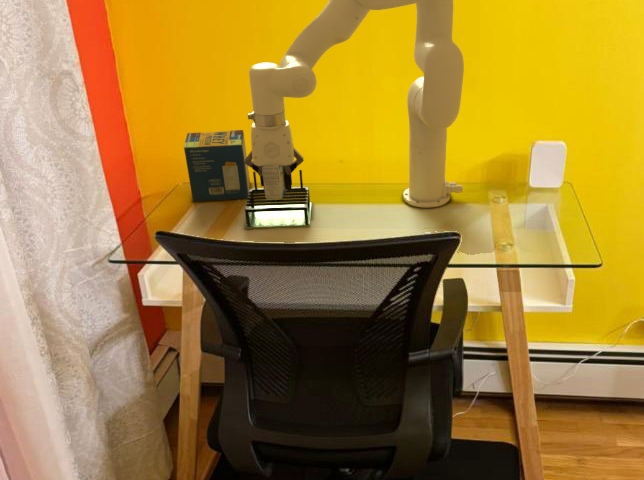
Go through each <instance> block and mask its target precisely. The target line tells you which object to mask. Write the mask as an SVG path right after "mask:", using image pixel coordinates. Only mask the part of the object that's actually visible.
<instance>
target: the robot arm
mask: <svg viewBox="0 0 644 480" xmlns="http://www.w3.org/2000/svg"><path fill="white" fill-rule="evenodd" d="M410 5H415V6H416V26H415V40H414V50H413V59H414V62H415V65H416V66H417V67H418V69H419V70H420V71H421V72H422V73H423V76H420V77H418V78H416V79H415V80H414V81H413V82H412V83H411V85H410V87H409V89H408V92H407V99H406V103H407V114H408V128H409V129H408V131H409V134H408V135H409V137H408V139H409V140H408V141H409V143H408V188H406V189H405V190H404V191H403V193H402V199H403V201H404V202H405V203H406V204H407V205H409V206H412V207H415V208H416V207H417V208H423V209H424V208H426V209H429V208H437V207H438V208H439V207H441V206H443V205H445V204H447V203H448V202H449V201H450V200H451V193H455V194H456V193H459V194H460V193H463V185H462V184H457V182H454V181H453V182H448V181H447V180H446V164H447V163H446V162H447V161H446V160H447V143H448V142H447V141H448V140H447V139H448V131H447V130H448V128H449V127H451V126H452V125H453V124H454V122H455V121H456V119H457V118H458V116H459V115H458V114H459V113H460V108H461V101H462V92H463V82H464V73H465V72H464V71H465V61H464V56H463V53H462V50H461V49H460V48H459V46H458V45H457V44H456V43H455V42H454V41H453V25H454V0H328V2H327V3H326V5H325V6H324V8H323V9H322V10H321V11H320V13H319V14H318V15H317V16H316V17H315V18H314V19H312V21H311V22H310V23H309V24H308V25H307V26H306V27H305V28H304V29H303V30H301V32H300V33H298V35H297V36H296V37H295V39H294V40H293V42H292V43H291V45H290V46H289V48H288V49H287V51H286V52H285V54H284V55H283V57H282V59H281V60H280V63H279V65H278V64H277V63H274V62H259V63H256V64H253V65H252V66H251V67H250V69H249V70H248V76H249V86H250V94H251V103H252V104H251V105H252V112H251V113H247V120H251V121H252V122H253V123H252V124H251V129H250V143H251V149H250V152H249V153H248V155H246V156H247V158H246V159H245V164H246V165H248V168H251V169H252V170H253V172H254V171H255V173H257V174H258V176H259V180H260V186H261V187H264V181H263V173H262V167H263V166H268V165H280V166H284V168H285V170H286V172H285V182H286V189H287V190H289V187H290V185H291V186H292V185H293V178H292V173H293V172H294V171H295V170H296V169H297V168H298V166H300V165H301V164H302V163H303V162H304V159H305V158H304V157H303V155H302V154H301V153H300V152H299V151H298V150H297V149H296V148H295V146H294V140H293V135H292V131H291V129H292V128H291V127H290V126H291V125H290V123H289V121H288V120H287V118H286V109H285V107H286V106H285V98H293V99H302V98H306V97H308V96H310V95H312V94H313V92H314V91H315V90H316V87H317V77H316V74H315V72H314V70H313V68H314V67H315V65H316V64H317V63H318V61H319V60H320V59H321V57H322V56H323V55H324V54H325V53H326V52H327V51H328V50H329V49H331V48H332V47H334V46H335V45H338V44H342V43H345V42H347V41H348V40H349V39H350V38H351V37H352V36H353V35H354V33H355V32H356V30H357V29H358V28H359V26H360V25H361V23H362V22H363V21H364V19H365V18H366V17H367V15H368V14H369V13H370V12H371V11H382V10H389V9H394V8H400V7H405V6H410ZM264 191H265V189H264Z"/></svg>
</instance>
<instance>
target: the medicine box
mask: <svg viewBox="0 0 644 480" xmlns="http://www.w3.org/2000/svg"><path fill="white" fill-rule="evenodd" d="M285 172H286V170H285V168H284V166H280V165H268V166H263V167H262V173H263V181H264V186H263V188H264V189H265V197H266V199H270V200H278V199H282V198H283V196H284V194H285V193H286V191H287V189H286V182H285Z"/></svg>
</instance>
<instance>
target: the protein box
mask: <svg viewBox="0 0 644 480" xmlns="http://www.w3.org/2000/svg"><path fill="white" fill-rule="evenodd" d="M246 148H247V147H246V141H245V134H244V129H235V130H220V131H202V132H188V133H186V137H185V141H184V145H183V150H184V156H185V162H186V168H187V172H188V173H187V175H188V180H189V186H190V187H189V188H190V193H191V199H192V202H193V203H194V202H208V201H210V202H212V201H229V200H247V198H248V193H249V189H250V187H251V179H250V171H249V166H248V165H246V164H245V159H246V158H247V156H248V155H247V149H246Z"/></svg>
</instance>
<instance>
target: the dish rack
mask: <svg viewBox="0 0 644 480" xmlns="http://www.w3.org/2000/svg"><path fill="white" fill-rule="evenodd" d="M298 172H299V183H300V186H292V185H290V187H289V190H287V191H286V193H285V194H284V196H283V198H282V199H266V197H265V191H264V187H262V188H261V187H260V188H259V187H258V183H257V175H256V173H257V172H256V171H254V170H253V171H252V175H253V183H254V184H253V185H254V188H249V193H248V198H247V199H246V202H245V206H244V215H245V226H244V229H245V230H256V229H257V230H258V229H289V228H309V227H311V216H312V202H311V197H310V187H309V186H304V184H303V183H304V182H303V171H302V169H299V170H298Z"/></svg>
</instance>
